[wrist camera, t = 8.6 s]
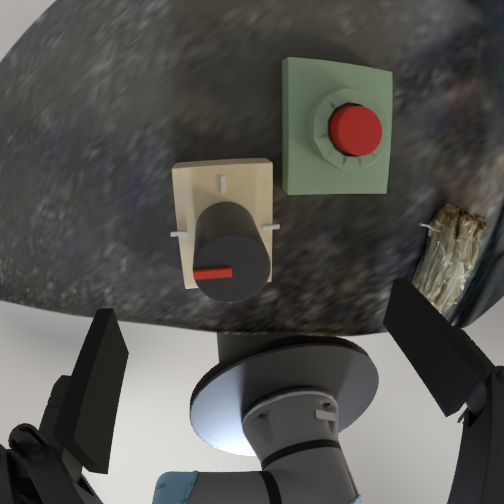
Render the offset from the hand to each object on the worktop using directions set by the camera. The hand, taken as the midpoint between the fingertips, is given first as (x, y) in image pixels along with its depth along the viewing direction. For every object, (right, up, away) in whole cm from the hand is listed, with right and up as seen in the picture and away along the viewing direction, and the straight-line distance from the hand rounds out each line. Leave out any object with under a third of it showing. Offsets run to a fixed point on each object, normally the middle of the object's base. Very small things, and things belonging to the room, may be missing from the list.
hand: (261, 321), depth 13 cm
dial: (-3, +5, +12) cm, 13 cm away
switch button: (+8, +13, +9) cm, 18 cm away
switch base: (+7, +15, +12) cm, 21 cm away
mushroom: (+24, +3, +21) cm, 32 cm away
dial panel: (-3, +6, +15) cm, 16 cm away
